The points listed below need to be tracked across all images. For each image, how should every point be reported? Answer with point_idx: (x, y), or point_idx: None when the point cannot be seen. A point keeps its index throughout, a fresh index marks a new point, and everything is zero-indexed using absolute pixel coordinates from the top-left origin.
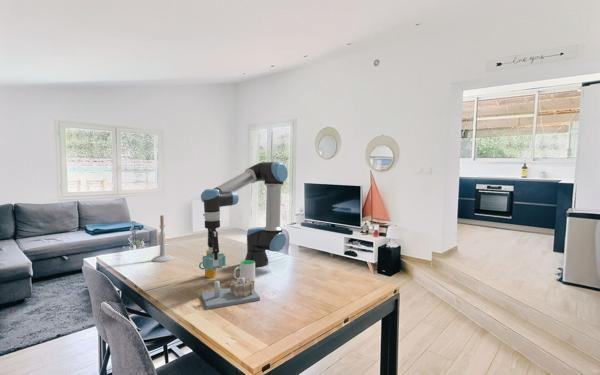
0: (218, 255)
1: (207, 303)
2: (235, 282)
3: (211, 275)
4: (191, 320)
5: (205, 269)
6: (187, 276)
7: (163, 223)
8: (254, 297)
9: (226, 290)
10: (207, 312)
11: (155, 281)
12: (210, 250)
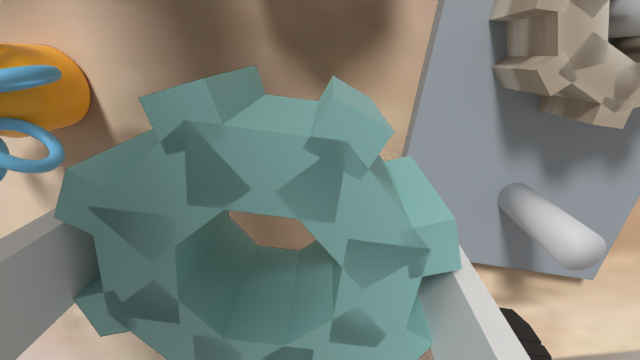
0: (246, 210)
1: (565, 268)
2: (605, 70)
3: (78, 93)
4: (633, 345)
5: (62, 160)
6: (22, 214)
7: None
8: None
9: (455, 109)
10: (616, 276)
11: (68, 350)
12: (15, 325)
